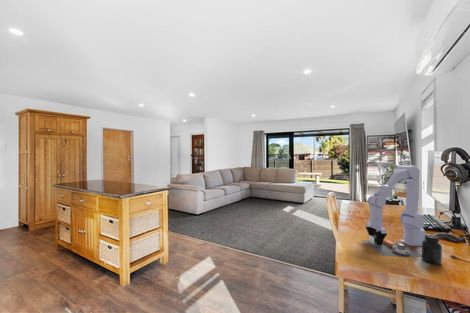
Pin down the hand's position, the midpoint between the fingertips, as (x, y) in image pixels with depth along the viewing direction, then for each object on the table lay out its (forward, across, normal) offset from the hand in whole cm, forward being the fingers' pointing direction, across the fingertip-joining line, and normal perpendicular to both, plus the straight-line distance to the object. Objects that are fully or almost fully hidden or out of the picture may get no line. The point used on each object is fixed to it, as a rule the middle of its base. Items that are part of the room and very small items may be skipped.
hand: (375, 242), depth 119 cm
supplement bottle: (+2, +19, +14) cm, 23 cm away
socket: (+1, 0, 0) cm, 1 cm away
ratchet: (+1, +5, +7) cm, 8 cm away
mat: (+1, +4, +6) cm, 7 cm away
